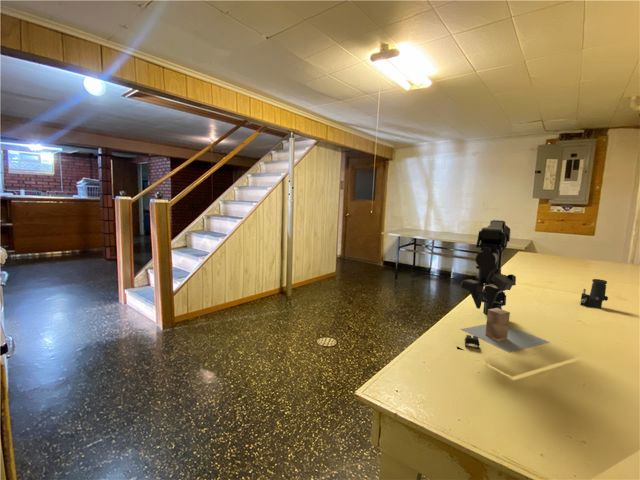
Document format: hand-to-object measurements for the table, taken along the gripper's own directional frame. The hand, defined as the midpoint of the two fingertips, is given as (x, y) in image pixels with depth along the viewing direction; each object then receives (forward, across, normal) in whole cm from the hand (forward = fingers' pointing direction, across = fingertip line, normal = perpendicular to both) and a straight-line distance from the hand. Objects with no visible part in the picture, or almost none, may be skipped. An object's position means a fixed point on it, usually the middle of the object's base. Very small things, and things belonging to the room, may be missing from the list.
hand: (484, 307), depth 110 cm
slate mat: (+13, +12, 0) cm, 18 cm away
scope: (+13, +92, +9) cm, 93 cm away
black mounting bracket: (+14, -7, -2) cm, 16 cm away
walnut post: (+12, +8, 0) cm, 15 cm away
